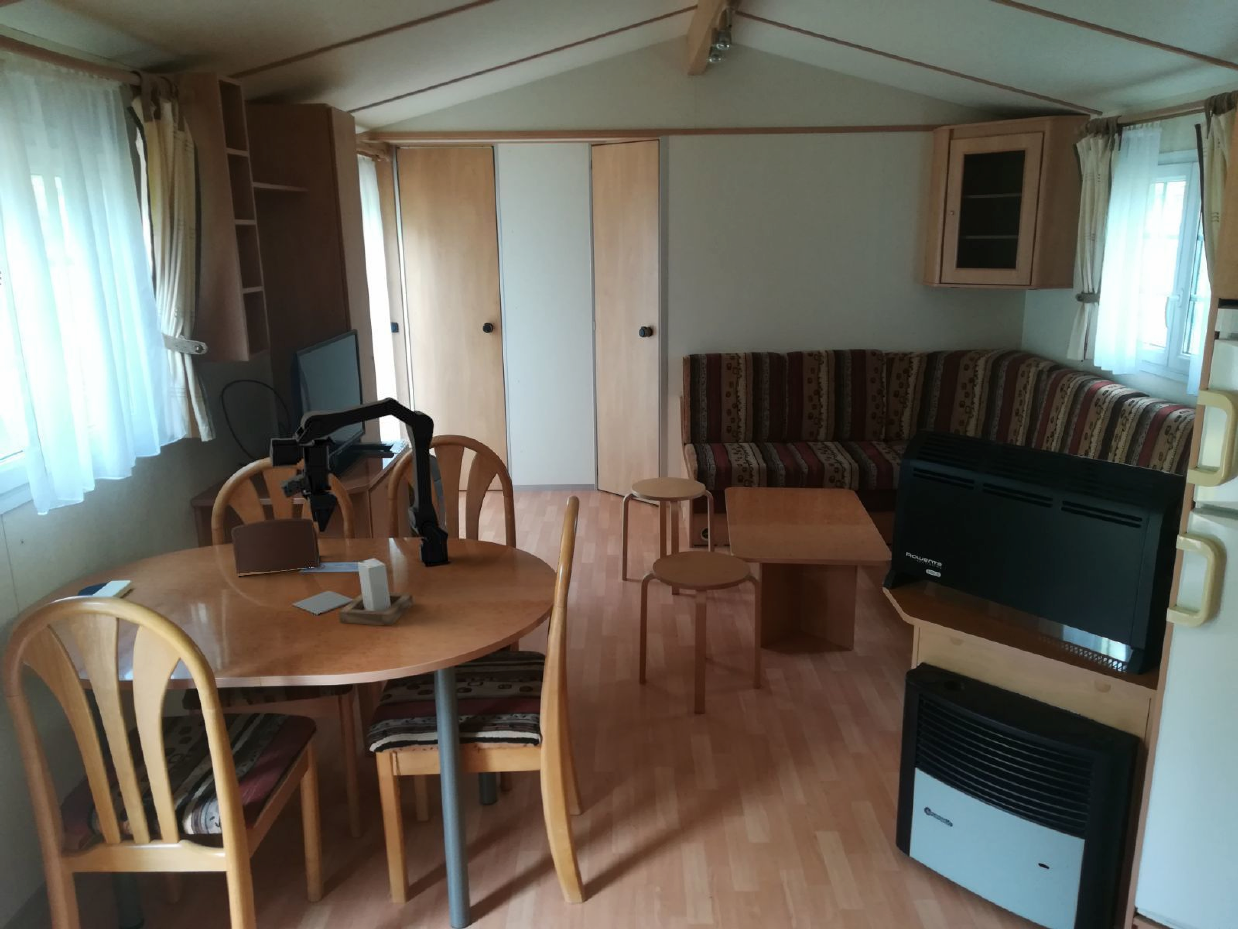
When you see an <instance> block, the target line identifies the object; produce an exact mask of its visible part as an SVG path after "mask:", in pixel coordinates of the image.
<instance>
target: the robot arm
mask: <svg viewBox="0 0 1238 929" xmlns="http://www.w3.org/2000/svg"><path fill="white" fill-rule="evenodd" d="M387 416H392V417H394V418H396V419H397V420H399V421H401V422H402V423H404V424H405V429H406V433H407V437H408V439H409V443H410V445H411V451H412V468H413V469H412V470H413V486H414V488H413V489H414V501H413V502H414V503H413V505H412V506H408V507H407V511H408V520H407V522H408V523H409V524H410V526H411V527H412V529H413V530H414V531H415V532H416V533H417V534H418V536H420V537H421V538H420V544H419V545H418V546H419V550H418V551H419V559H420V562H421V563H423V565H424V567H432V566H438V565H443V564H444V565H445V564H449V563H451V560H450V558H449V553H448V552H449V551H448V539H449V535H450V534H449V533H448V532H447V531H446V530H445V529H444V528H442V526H441V525H440V524H439V518H438V515H437V511H436V509H435V506H434V503H433V496H432V494H433V492H432V476H431V475H432V474H431V458H430V457H431V455H430V449H431V448H430V447H431V445H432V441H433V437H434V431H435V430H434V429H435V423H434V419H433V418H432V417H431V416H430V415H428V414H426V413H425V412H424V411H422V410H411V409H410V408H408V407H407V406H405V405H404V404H401V403H400V402H399V400H397V399H395V398H393V397H389V396H387V397H385V398H383V399H379V400H374V401H370V402H368V403H363V404H359V405H355V406H351V407H346V408H342V409H338V410H337V409H336V410H335V409H334V410H311V411H308V412H306V413H304V414H303V415H302V418H301V420H300V426H299V427H298V428H297V430H296V431H295V432H294V434H293V435H292V437H285V438H278V437H272V438H271V439H270V446H269V447H270V448H269V462H270V466H271V468H282V467H283V468H285V467H297V466H298V464H300V463H301V462H302V457H303V466H302V468H301V473H299V474H298V475H294V476H292V477H289V478H287V479H285V480H282V481H280V482H279V483H278V484H279V486H280V489H281V491H282V493H283V495H284V497H285V499H289V498H292V497H293V496H294V495H297V494H299V493H300V495H301V497H302V498H304V500H306V501H307V503H308V504H307V505H308V508H309V510H310V515H311V517H312V518H311V519H312V521H313V523H317V526H318V527H317V528H318V530H319V533H323V532H324V533H325V531H326V529H327V527H328V524H329V521H330V519H331V518H332V515H333V513H334V511H335V509H336V508H337V506H338V497H337V496H336V494H335V493H334V492H332V484H330V482H331V481H330V475H331V473H332V472H331V471H332V470H331V468H330V463H329V459H330V457H329V447H336V446H337V445H338V443H337V442H336V441H335V440H334V439H332V437H331V434H333V433H335V432H338V430H341V429H342V428H345V427H347V426H348V427H349V426H351V425H352V426H353V425H355V424H360V423H364V422H368V421H371V420H376V419H380V418H385V417H387ZM302 449H303V450H302ZM302 451H303V456H302ZM431 565H432V566H431Z"/></svg>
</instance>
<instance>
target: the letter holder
mask: <svg viewBox="0 0 1238 929" xmlns="http://www.w3.org/2000/svg"><path fill="white" fill-rule="evenodd" d="M314 523H315V522H314V521H313V519H310V518H280V519H279V518H277V519H276V518H275V519H267V520H260V521H255V522H254V521H253V522H251V523H245V524H241V525H238V526H237V525H236V526H235V527H233V528H232V529H231V539H232V546H233V554H234V555H233V556H234V561H235V562H234V563H235V569H236V575H237V574H238V573H239V574H240V573H250V572H271V571H281V570H290V569H297V568H309V567H310V568H311V567H318V568H319V565H318V564H320V563H319V562H320V549H319V541H318V533H317V530H316V527H315V524H314Z"/></svg>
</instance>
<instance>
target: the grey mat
mask: <svg viewBox="0 0 1238 929" xmlns="http://www.w3.org/2000/svg"><path fill="white" fill-rule="evenodd" d="M354 599H355V598H354ZM354 599H353V598H351V597H349V596H345V595H342V594H340V593H337V592H335V591H331V590H327V591H324V592H321V593H319V594H315V595H313V596H310V597H307V598H305V599H302V600H299V601H296V602H294V603H291V606H292V605H294V606H297V607H300V608H302V609H306V610H307V611H310V612H311V613H310V612H309V613H310V614H312V613H314V614H313V615H315V614H316V615H315V616H319V615H318V614H320V613H322V614H324V612H325V613H327V612H330V611H332V609H333V610H336V609H338V608H340V607H343V606H345V605H346V606H347V605H348V604H349V603H351V602H352V601H353V600H354ZM294 606H293V607H294ZM297 607H296V608H297ZM302 609H301V610H302ZM329 610H330V611H329ZM307 611H306V612H307ZM320 615H321V614H320Z"/></svg>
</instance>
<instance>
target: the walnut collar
mask: <svg viewBox="0 0 1238 929" xmlns="http://www.w3.org/2000/svg"><path fill="white" fill-rule="evenodd" d="M389 596H390V603H391V607H390V608H389V609H388V610H386V611H371V610H364V603H363V596H362V593H360V594H359V595H358V596H356V597H355V598H354V600H353V601H352V602H351V603H348V604H346V606H344V607H343V608H342V609H340V611H339V612H338V616H339V623H341V624H355V625H356V624H357V625H376V626H392V625H393V623H394V624H395V622H396V621H397V620H398V619H399V618H400V617H401V616H403V615H404V613H405V612H406V611H408V610H409V609H410V608H411V607H412V606H413V605H414V600H413V593H412V594H411V593H397V592H389Z"/></svg>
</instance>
